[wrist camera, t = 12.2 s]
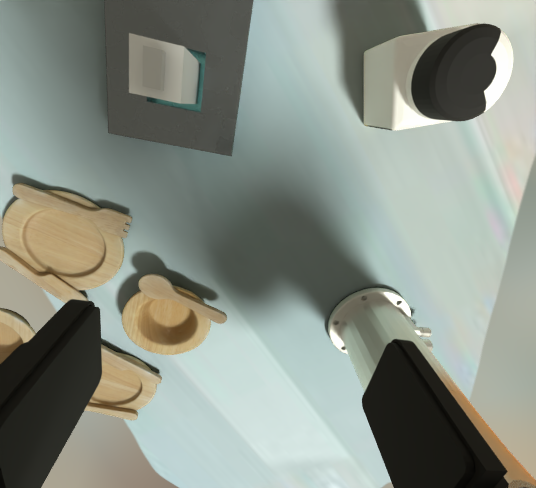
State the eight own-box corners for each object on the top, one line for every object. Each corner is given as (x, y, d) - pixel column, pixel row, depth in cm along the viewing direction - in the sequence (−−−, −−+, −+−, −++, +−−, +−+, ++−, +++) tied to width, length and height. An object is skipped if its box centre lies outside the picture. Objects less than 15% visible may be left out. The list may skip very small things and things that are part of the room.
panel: (276, -163, 22) (280, -193, 20) (232, 152, 32) (231, 156, 30) (112, -224, 21) (96, -264, 18) (118, 131, 30) (108, 133, 28)
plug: (200, 63, 28) (181, 43, 19) (197, 103, 29) (177, 103, 20) (162, 54, 27) (123, 29, 18) (160, 96, 29) (124, 92, 20)
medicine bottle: (362, 126, 32) (423, 137, 22) (362, 51, 29) (433, 19, 18) (425, 115, 32) (516, 121, 22) (431, 39, 29) (542, 1, 18)
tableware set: (127, 421, 51) (118, 445, 47) (-65, 350, 41) (-95, 374, 37) (252, 286, 41) (253, 304, 37) (37, 150, 31) (10, 156, 27)
